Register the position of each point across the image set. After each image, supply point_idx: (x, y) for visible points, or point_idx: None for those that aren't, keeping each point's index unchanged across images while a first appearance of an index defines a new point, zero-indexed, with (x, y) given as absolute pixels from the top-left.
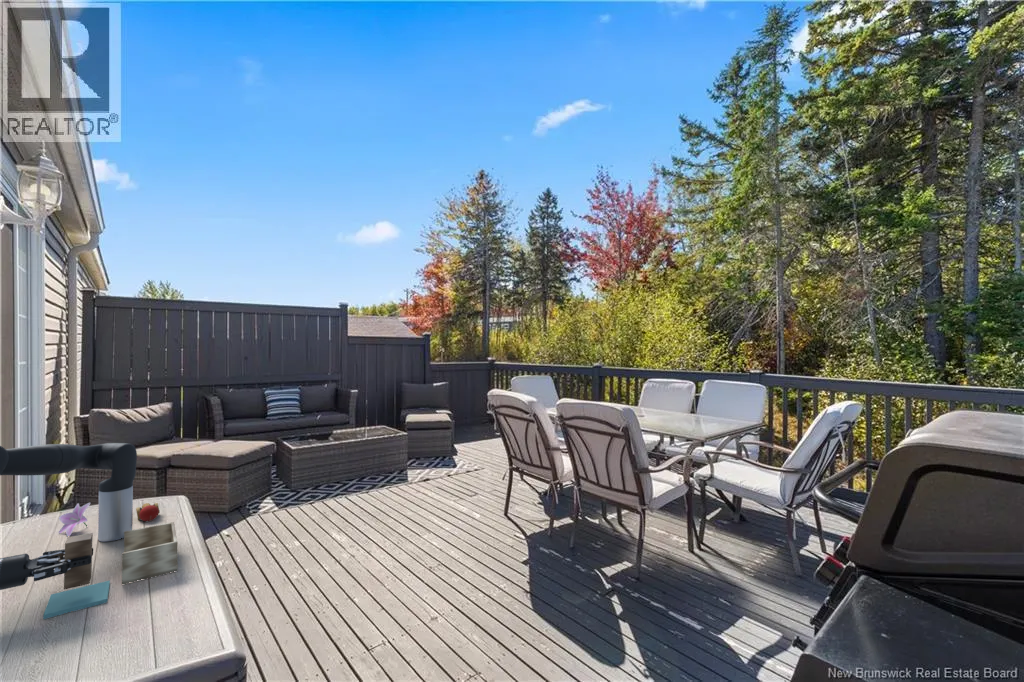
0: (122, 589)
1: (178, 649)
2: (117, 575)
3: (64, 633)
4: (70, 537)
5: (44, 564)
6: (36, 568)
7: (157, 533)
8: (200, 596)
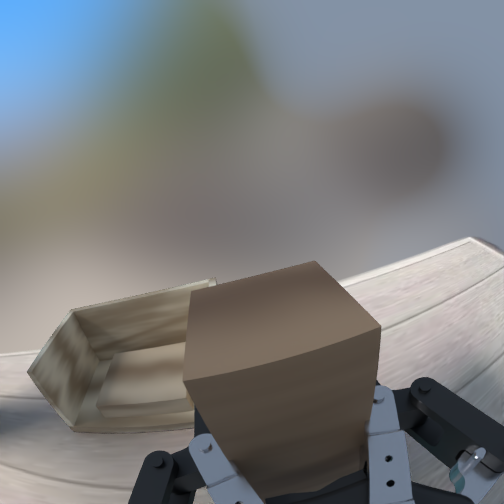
0: None
1: (482, 262)
2: (163, 440)
3: (482, 409)
4: (210, 358)
5: (422, 493)
6: (467, 500)
7: (71, 344)
8: (364, 286)
